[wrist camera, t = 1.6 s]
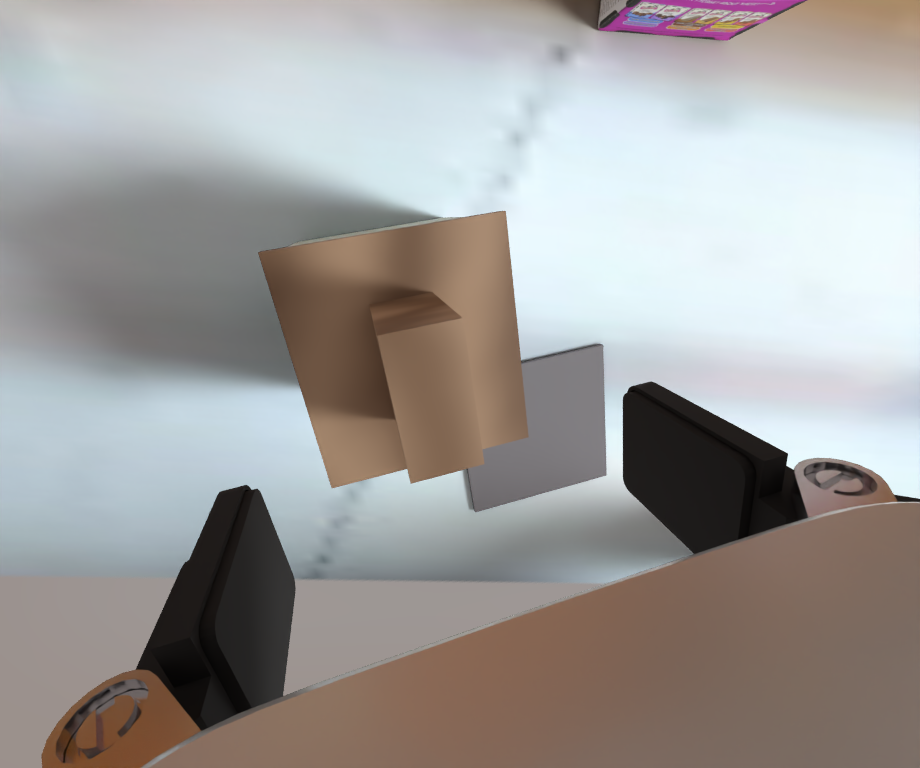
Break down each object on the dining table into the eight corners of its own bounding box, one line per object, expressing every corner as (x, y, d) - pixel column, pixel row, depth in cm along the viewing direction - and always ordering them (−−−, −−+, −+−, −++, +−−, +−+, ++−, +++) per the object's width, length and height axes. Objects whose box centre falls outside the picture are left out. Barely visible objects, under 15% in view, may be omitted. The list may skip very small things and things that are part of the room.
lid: (492, 211, 22) (563, 207, 15) (516, 422, 27) (580, 498, 19) (266, 249, 20) (220, 266, 13) (332, 468, 25) (327, 572, 18)
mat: (600, 344, 40) (603, 345, 40) (604, 473, 45) (606, 475, 45) (452, 378, 38) (453, 379, 37) (474, 509, 43) (475, 512, 43)
